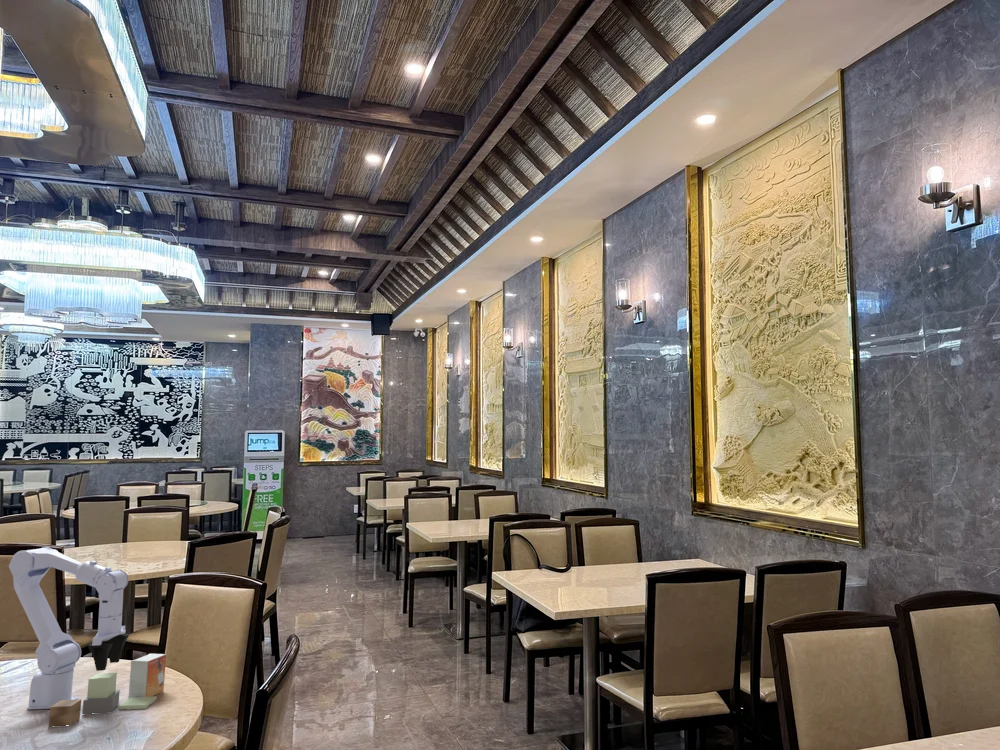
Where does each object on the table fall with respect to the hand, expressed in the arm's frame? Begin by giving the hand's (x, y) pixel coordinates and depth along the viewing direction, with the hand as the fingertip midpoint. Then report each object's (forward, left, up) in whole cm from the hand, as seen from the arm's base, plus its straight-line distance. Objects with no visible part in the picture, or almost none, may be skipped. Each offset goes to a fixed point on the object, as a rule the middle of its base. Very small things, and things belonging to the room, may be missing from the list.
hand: (107, 666), depth 184 cm
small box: (+8, +8, -11) cm, 15 cm away
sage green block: (0, -3, -7) cm, 7 cm away
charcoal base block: (0, -3, -11) cm, 11 cm away
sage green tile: (+9, 0, -10) cm, 14 cm away
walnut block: (-4, -12, -11) cm, 17 cm away
